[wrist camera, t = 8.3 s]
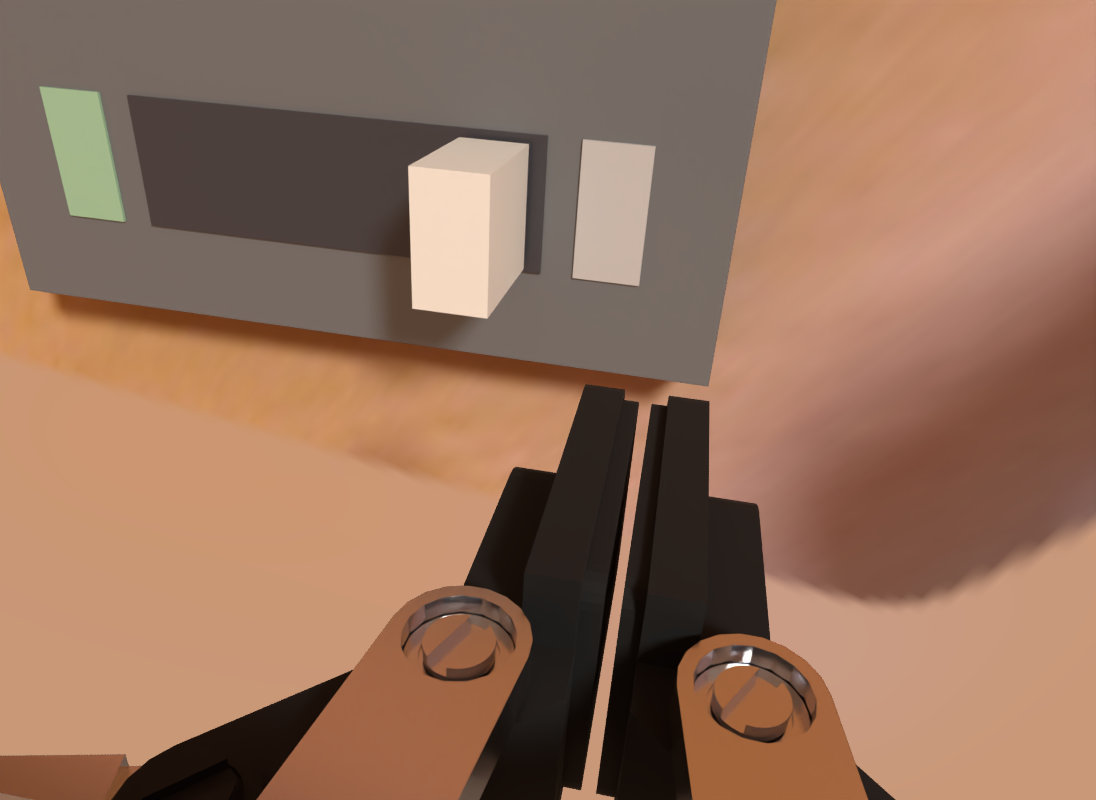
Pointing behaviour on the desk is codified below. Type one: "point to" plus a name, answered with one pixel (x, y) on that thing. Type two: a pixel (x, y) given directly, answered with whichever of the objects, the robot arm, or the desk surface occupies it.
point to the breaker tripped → (467, 225)
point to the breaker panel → (387, 161)
